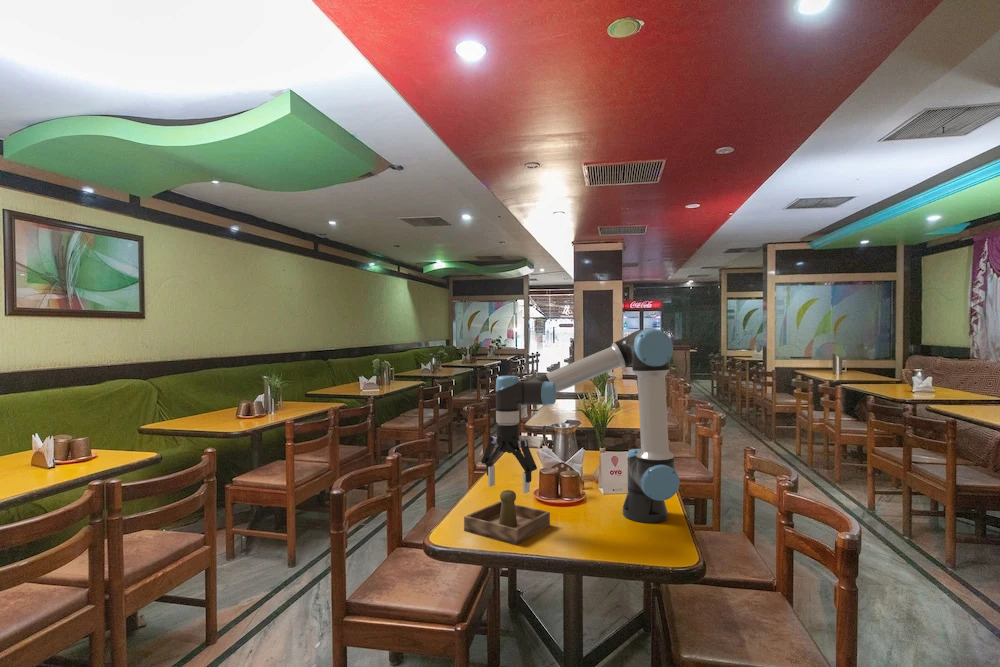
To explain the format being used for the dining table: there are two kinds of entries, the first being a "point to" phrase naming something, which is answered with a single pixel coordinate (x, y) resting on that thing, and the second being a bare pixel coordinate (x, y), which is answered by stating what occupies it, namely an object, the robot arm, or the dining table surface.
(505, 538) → the tray
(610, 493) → the dining table surface
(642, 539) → the dining table surface
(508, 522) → the olive pepper mill
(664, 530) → the dining table surface
